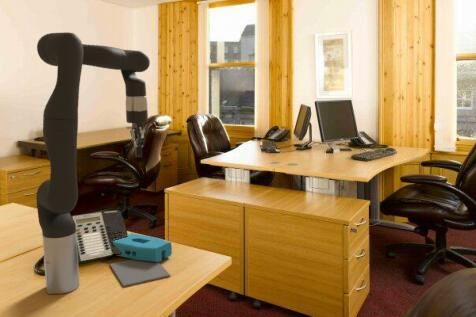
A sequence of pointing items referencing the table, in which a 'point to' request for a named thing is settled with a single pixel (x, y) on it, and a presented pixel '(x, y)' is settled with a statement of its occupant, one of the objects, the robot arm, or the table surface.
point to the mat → (138, 271)
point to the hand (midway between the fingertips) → (139, 157)
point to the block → (143, 247)
